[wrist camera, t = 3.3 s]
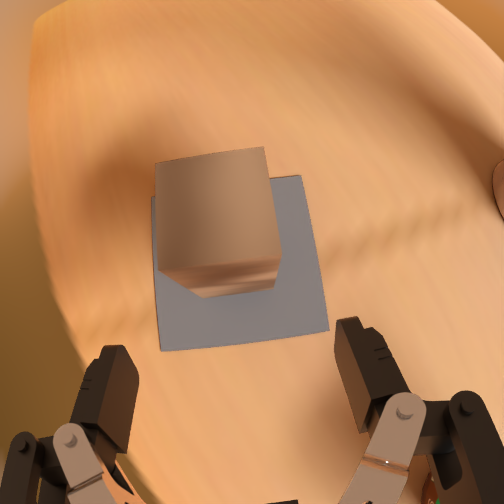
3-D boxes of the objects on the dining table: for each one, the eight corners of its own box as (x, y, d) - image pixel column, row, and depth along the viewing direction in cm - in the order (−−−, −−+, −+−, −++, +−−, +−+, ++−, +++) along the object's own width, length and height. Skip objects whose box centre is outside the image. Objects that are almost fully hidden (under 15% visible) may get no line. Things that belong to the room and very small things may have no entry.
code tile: (300, 176, 24) (301, 175, 24) (329, 330, 21) (329, 330, 21) (151, 197, 24) (151, 196, 24) (161, 351, 21) (161, 351, 21)
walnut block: (263, 222, 23) (263, 146, 14) (273, 289, 22) (282, 253, 12) (196, 231, 23) (155, 163, 14) (202, 298, 22) (158, 270, 12)
